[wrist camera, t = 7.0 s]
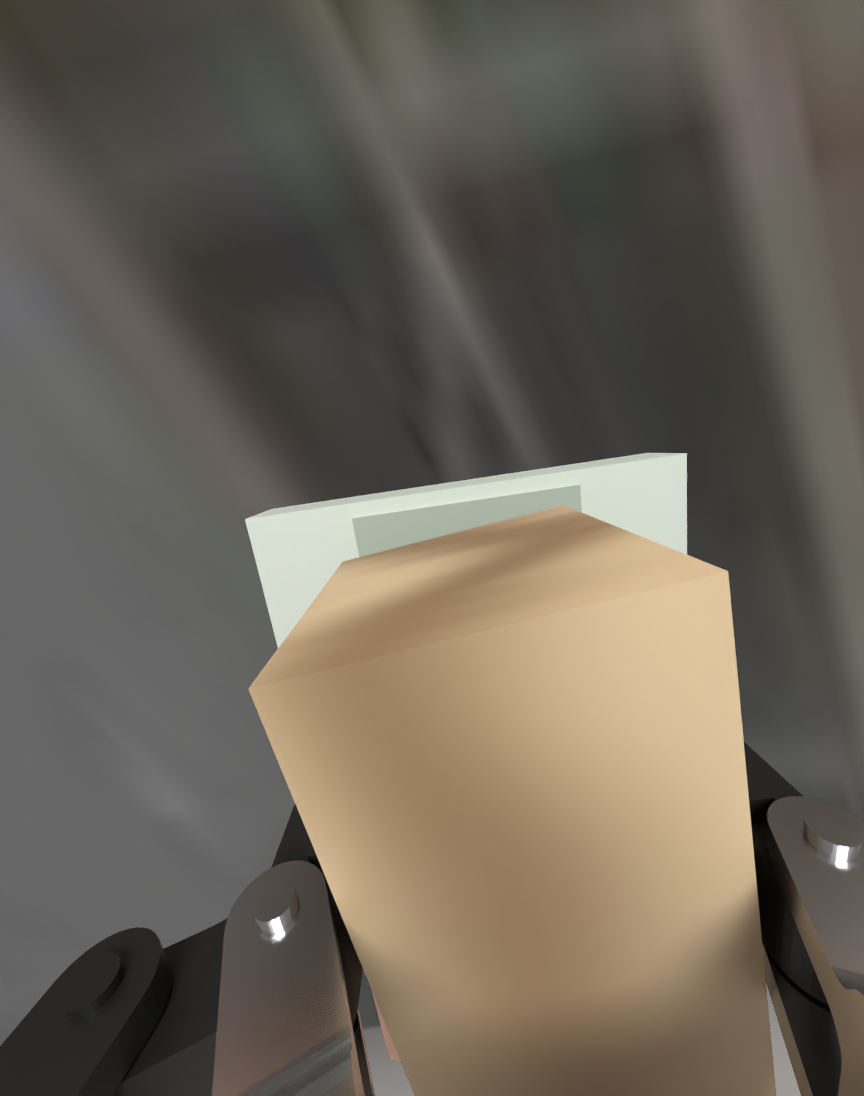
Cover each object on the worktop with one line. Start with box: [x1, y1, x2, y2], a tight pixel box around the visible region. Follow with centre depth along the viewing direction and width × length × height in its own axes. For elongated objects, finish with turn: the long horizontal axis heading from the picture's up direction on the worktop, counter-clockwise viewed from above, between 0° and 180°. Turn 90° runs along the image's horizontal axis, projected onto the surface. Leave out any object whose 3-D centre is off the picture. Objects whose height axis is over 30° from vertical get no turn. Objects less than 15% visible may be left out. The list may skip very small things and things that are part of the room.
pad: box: [245, 453, 687, 648], centre depth 13 cm, size 12×11×2 cm
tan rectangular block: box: [249, 505, 776, 1096], centre depth 8 cm, size 5×9×5 cm, turn 15°
